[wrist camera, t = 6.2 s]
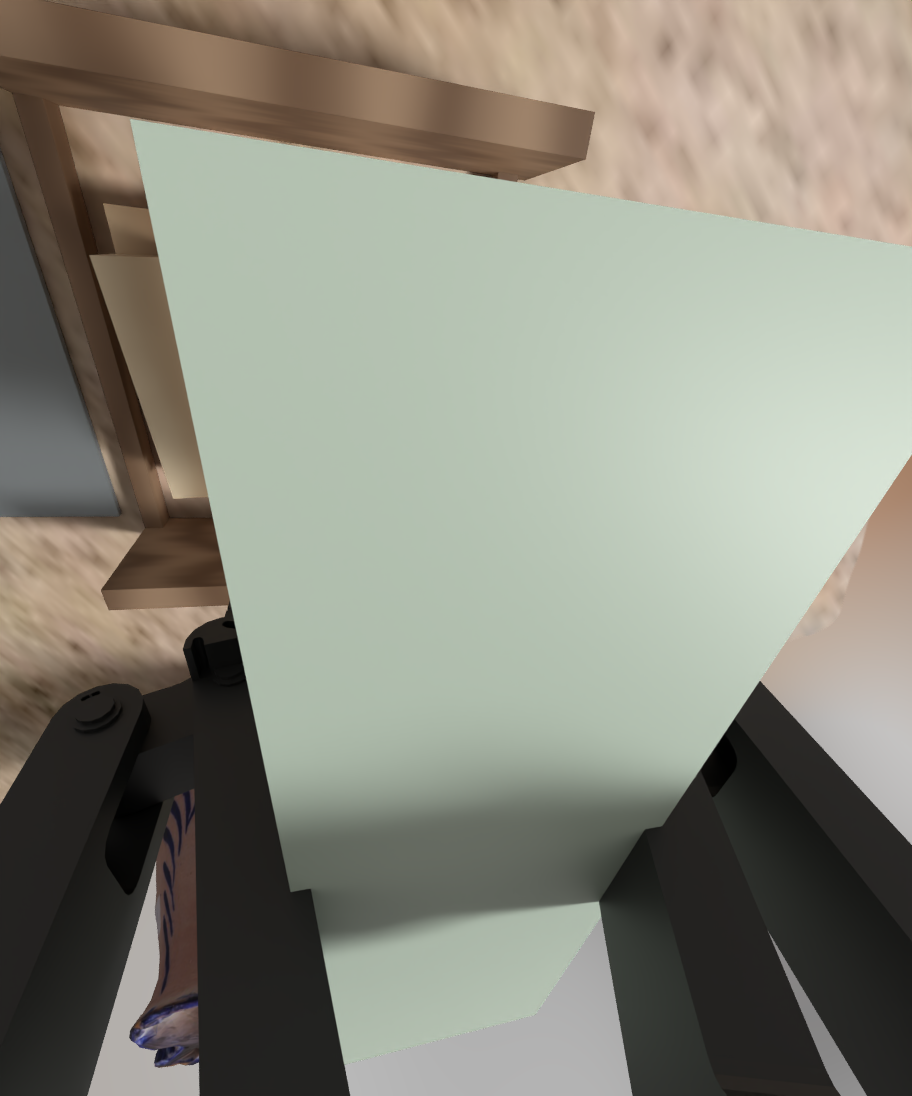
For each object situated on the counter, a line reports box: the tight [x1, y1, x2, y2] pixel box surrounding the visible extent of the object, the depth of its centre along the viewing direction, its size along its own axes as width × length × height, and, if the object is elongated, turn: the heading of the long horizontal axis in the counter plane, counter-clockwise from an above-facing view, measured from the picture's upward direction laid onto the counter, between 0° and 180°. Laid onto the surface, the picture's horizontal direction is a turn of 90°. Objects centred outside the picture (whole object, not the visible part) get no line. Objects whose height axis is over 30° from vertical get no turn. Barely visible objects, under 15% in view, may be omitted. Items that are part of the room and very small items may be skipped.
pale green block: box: [130, 119, 912, 1065], centre depth 12 cm, size 5×16×14 cm, turn 174°
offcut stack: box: [89, 203, 208, 499], centre depth 28 cm, size 5×16×6 cm, turn 174°
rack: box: [0, 0, 595, 610], centre depth 28 cm, size 26×27×9 cm
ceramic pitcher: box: [129, 789, 199, 1068], centre depth 40 cm, size 18×21×25 cm
